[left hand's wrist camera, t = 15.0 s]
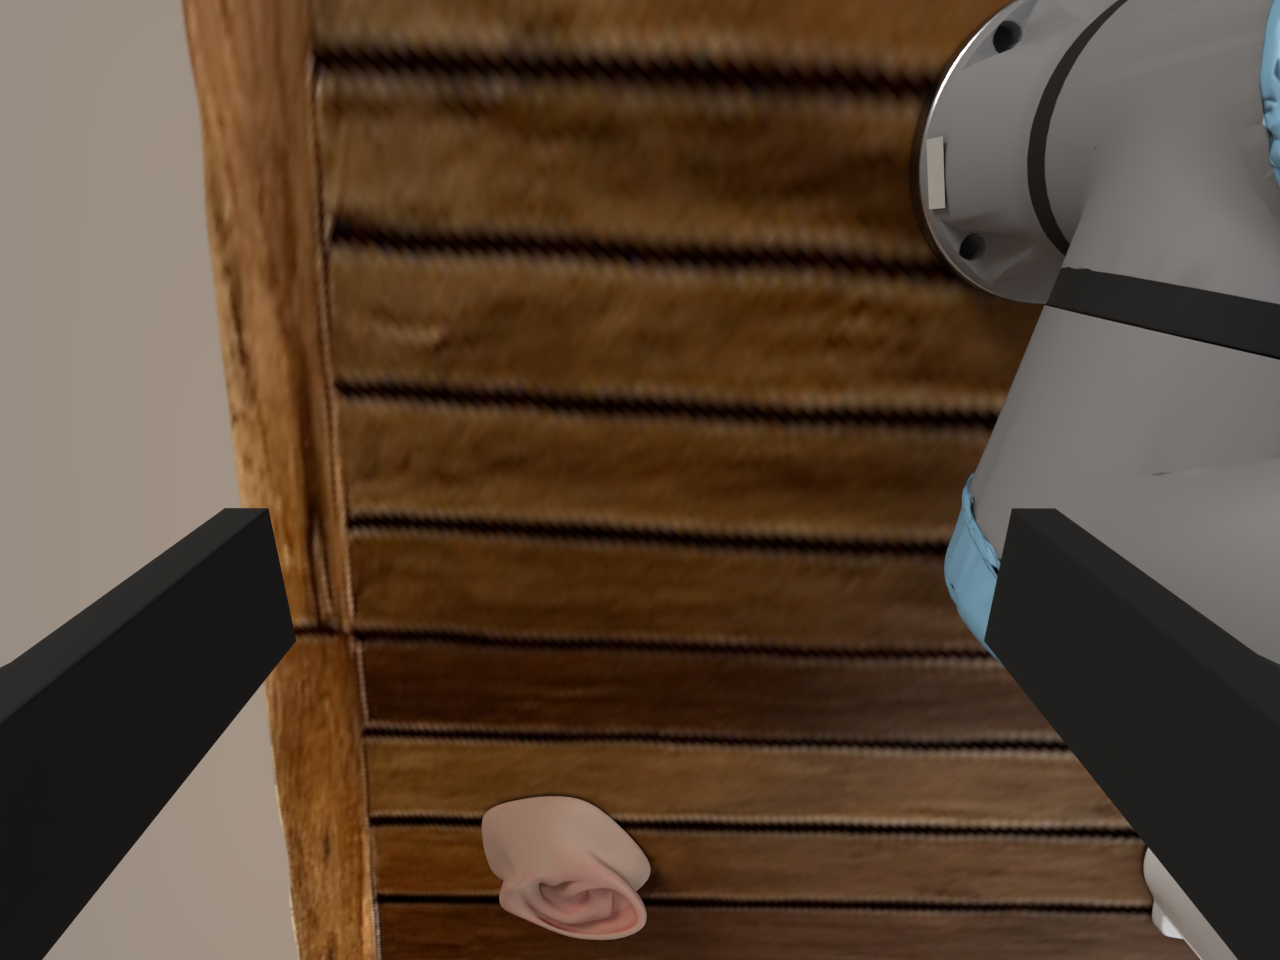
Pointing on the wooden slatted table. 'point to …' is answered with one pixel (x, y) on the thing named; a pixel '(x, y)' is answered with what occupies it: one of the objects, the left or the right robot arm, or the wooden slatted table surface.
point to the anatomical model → (566, 867)
